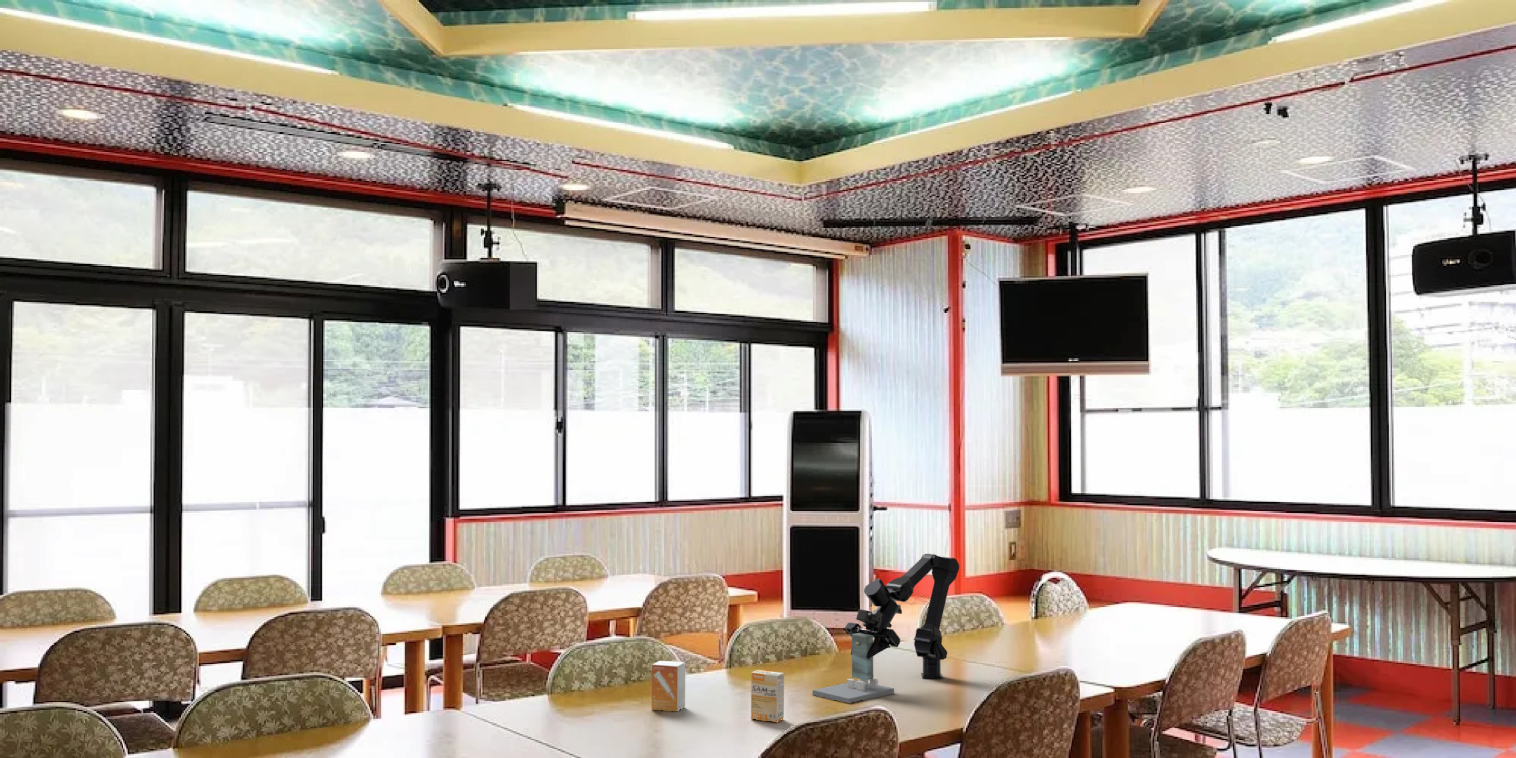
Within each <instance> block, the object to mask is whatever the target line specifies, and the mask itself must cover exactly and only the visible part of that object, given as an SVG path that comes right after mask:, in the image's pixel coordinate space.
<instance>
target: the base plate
mask: <svg viewBox="0 0 1516 758" xmlns="http://www.w3.org/2000/svg"><path fill="white" fill-rule="evenodd" d="M894 694H895V688H894V687H889V686H884V685H880V684H879V679H878V678H875V677H873V679H870V680H863V679H859V680H855V679H854V678H853V679H852V678H847V679H846V682H844V683H840V684H836V685H831V686H827V687H820V688H816V689H812V696H814V695H816V696H815V697H819V698H822V697H825V698H824V699H827V698H828V699H827V700H831V701H835V700H837V702H839V701H841V702H840V703H843V702H847V703H846V704H848V703H850V702H855V703H858V702H857V701H859V702H861V701H860V700H863V701H866V700H872V699H876V698H881V697H885V696H889V695H894ZM850 704H851V703H850Z"/></svg>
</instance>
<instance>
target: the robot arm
mask: <svg viewBox="0 0 1516 758" xmlns="http://www.w3.org/2000/svg"><path fill="white" fill-rule="evenodd" d="M959 570H960V564H959V562H958V559H956V558H954V557H945V556H939V555H937V554H935V553H934V554H933V553H924V554H922V555H921V558H920V559H919V560H918V561H916V563H914V565H913V566H912V567H911V568H909V569H908V570H907V571H906V572H905V573H904V574H903V575H902V576H900V577H895V578H894V579H893V580H890V581H888V583H887V584H886V585H885V583H884V582H883V580H882V579H881V578H875V580H873V581H871V582H869V583H868V584H867V585H866V586H865V587H864V588H863V592H864V595H865V596H866V598H867V599H869V601H870V603H871V604H872V605H873V606H874V607H877V608H876V609H873V610H872V611H871V610H867V609H866V610H865V609H859V608H858V611H857V614H856V617H855V620H857V621H860V622H861V623H862V626H861V625H860V624H859V623H857V622H856V623H855V622H847V623H846V625H845V627H844V629H845V631H846V632H847V633H848V634H849V636H850V638H852V634H856V633H861V634H867V635H872V636H873V644H872V646H871V648H870V649H869V651H868V653H867V656H866V658H867V659H870V658H871V657H873V658H874V656H876V655H878V654H879V653H881V652H883V651H884V650H887V649H890V648H891V647H892V648H898V647H899V646H900V644H901V637H900V636H899V635H898V634H897V633H896V631H895V630H894V629H893V628H892V627H893V625H892V624H891V622H892V621H893V619H894V617H895V615H896V614H899V615H902V613H903V610H902V606H901V604H898V603H897V602H901V603H906V602H907V601H909V599H910V598H911V597H912V595H913V594H914V588H915V587H916V586H917V585H918V584H919V583H920V581H922V580H923V579H924V578H925V577H926V575H928V574H929V573H930V572H931V575H932V579H933V581H934V582H933V586H932V589H931V596H930V600H929V603H928V608H927V611H926V616H925V621H924V624H923V625H922V626H921V627H917V628H916V630H915V636H914V638H913V641H914V642H913V646H914V650H915V654H916V656H917V657H918V658H922V672H921V673H920V675H921V678H922V679H943V675H942V673H941V667H942V666H941V663H942V662H941V661H942V660H943V661H944V660H945V659H947V657H948V651H947V650H946V648H945V647H944V645H943V644H942V643H943V636H942V633H941V630H940V628H941V625H942V624H941V623H942V619H943V616H944V615H943V614H944V610H945V606H946V601H947V598H948V597H947V596H948V593H949V588H950V586H951V585H952V584H953V582H954V581H955V580H956V579H957V576H958V573H959ZM862 627H865V628H862ZM850 655H851V656H852V648H851V650H850Z"/></svg>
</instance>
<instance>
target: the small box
mask: <svg viewBox="0 0 1516 758" xmlns="http://www.w3.org/2000/svg"><path fill="white" fill-rule="evenodd" d="M683 707H684V708H685V707H686V662H684V661H673V660H672V661H671V660H668V661H667V660H658V661H656V662H654V663H653V664H651V711H661V710H663V711H662V712H671V711H678V712H680V711H681V710H683V709H684V708H683ZM682 708H683V709H682ZM680 709H681V710H680ZM679 710H680V711H679Z"/></svg>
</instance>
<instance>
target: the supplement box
mask: <svg viewBox="0 0 1516 758" xmlns="http://www.w3.org/2000/svg"><path fill="white" fill-rule="evenodd" d="M750 674H751V678H750V679H751V681H750V682H751V684H750V685H751V686H750V692H751V693H750V699H751V700H750V720H751V719H756V720H755V721H757V720H762V721H761V722H765V721H773V722H777V721H780V720H781V719H783V718H785V713H784V712H785V672H779V671H768V670H762V669H757V670H754V671H752V672H751V673H750ZM773 722H772V723H773ZM780 722H781V721H780Z"/></svg>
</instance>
